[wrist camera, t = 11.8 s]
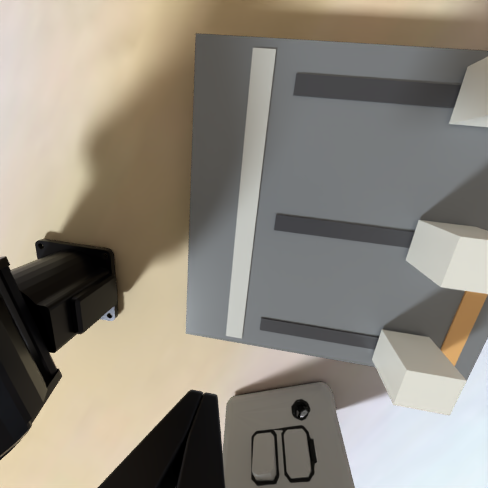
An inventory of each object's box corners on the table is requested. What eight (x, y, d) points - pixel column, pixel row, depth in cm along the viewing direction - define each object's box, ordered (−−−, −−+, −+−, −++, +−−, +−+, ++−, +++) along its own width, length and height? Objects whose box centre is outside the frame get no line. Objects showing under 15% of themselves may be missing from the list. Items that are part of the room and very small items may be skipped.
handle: (372, 359, 18) (393, 404, 14) (381, 329, 17) (406, 370, 13) (417, 367, 17) (449, 415, 14) (429, 337, 16) (466, 380, 13)
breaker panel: (194, 318, 21) (185, 334, 19) (206, 49, 15) (195, 32, 13) (447, 361, 19) (466, 384, 17) (576, 73, 13) (627, 58, 11)
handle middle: (405, 260, 15) (440, 287, 12) (418, 219, 14) (460, 236, 11) (458, 267, 15) (509, 297, 12) (475, 226, 14) (534, 246, 11)
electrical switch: (328, 376, 21) (366, 537, 13) (341, 416, 23) (382, 581, 14) (226, 393, 23) (200, 540, 15) (246, 428, 25) (232, 578, 17)
